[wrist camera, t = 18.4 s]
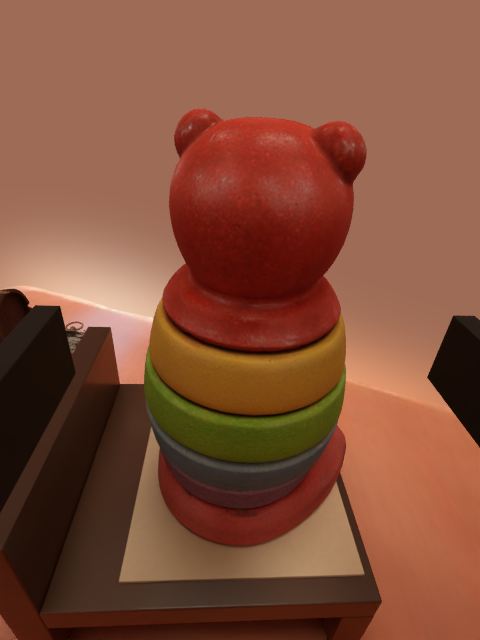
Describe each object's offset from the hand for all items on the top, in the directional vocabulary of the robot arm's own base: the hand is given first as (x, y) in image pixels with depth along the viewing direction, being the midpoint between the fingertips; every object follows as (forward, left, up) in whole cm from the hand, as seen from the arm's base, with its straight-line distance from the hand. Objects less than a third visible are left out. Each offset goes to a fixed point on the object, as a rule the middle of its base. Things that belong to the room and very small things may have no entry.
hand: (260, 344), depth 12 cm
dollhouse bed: (+2, -4, -16) cm, 17 cm away
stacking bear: (0, -4, -11) cm, 12 cm away
